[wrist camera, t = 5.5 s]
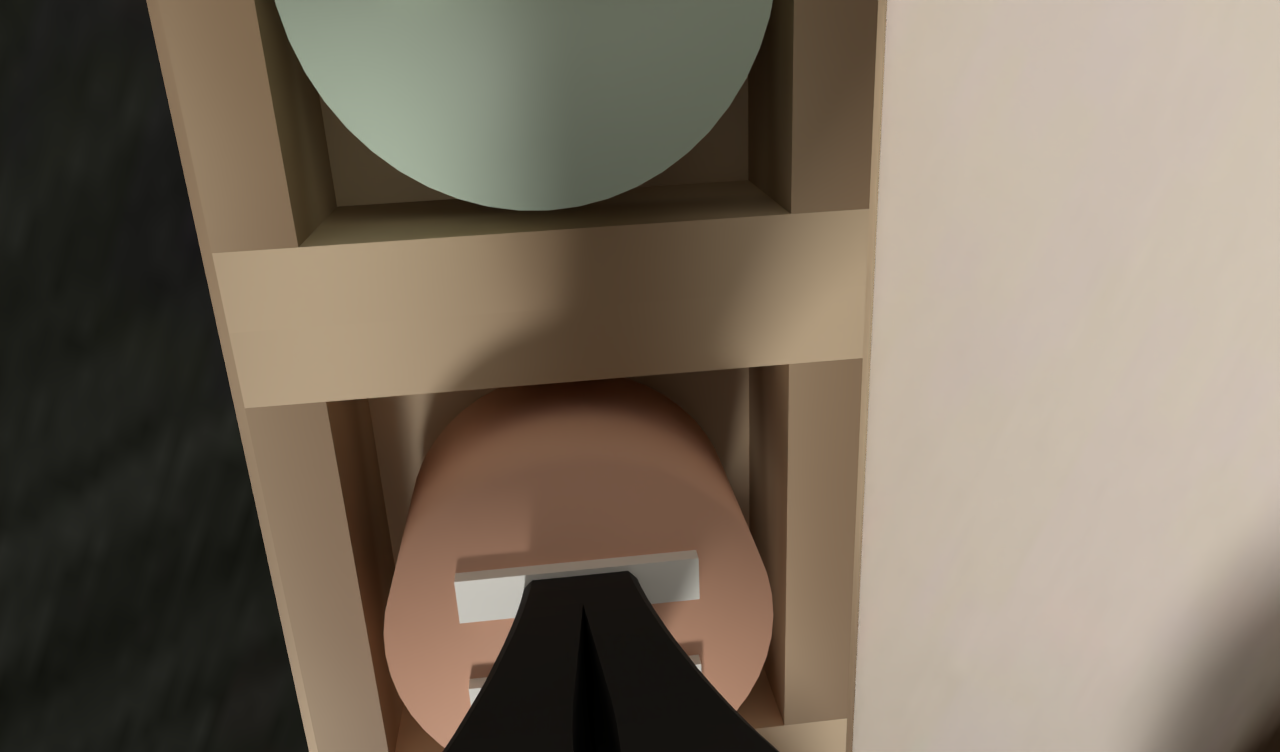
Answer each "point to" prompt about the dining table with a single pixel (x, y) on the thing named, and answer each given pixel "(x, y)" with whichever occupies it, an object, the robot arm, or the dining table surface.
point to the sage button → (527, 87)
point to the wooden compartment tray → (538, 334)
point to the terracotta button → (569, 537)
